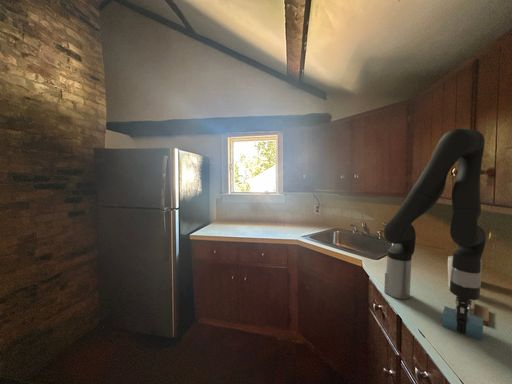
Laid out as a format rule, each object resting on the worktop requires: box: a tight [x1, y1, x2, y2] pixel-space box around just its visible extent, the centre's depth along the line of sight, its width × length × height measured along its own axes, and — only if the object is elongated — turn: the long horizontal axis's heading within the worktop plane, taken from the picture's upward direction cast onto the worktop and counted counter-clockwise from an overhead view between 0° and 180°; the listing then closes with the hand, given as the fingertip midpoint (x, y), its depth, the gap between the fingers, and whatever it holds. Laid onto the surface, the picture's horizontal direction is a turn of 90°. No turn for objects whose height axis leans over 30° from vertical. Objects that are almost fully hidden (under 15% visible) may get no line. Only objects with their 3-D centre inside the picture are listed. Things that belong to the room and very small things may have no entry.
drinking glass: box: [447, 255, 453, 289], centre depth 103 cm, size 7×7×15 cm
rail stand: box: [454, 300, 490, 326], centre depth 86 cm, size 9×12×4 cm
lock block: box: [441, 305, 484, 342], centre depth 77 cm, size 10×6×5 cm, turn 44°
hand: (461, 327), depth 77 cm, fingers closed on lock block, 5 cm apart
